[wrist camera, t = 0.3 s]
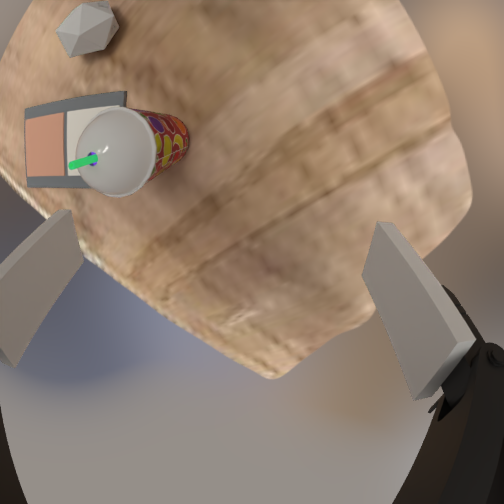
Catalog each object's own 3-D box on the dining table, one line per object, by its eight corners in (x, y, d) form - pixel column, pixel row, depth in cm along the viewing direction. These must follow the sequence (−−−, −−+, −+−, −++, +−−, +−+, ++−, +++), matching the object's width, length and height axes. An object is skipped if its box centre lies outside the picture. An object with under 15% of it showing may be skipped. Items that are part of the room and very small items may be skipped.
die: (127, 54, 30) (120, 3, 21) (70, 78, 28) (51, 31, 19) (115, 27, 30) (110, -19, 21) (64, 48, 28) (50, 5, 19)
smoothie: (137, 168, 37) (38, 215, 19) (141, 108, 33) (35, 113, 15) (195, 173, 37) (119, 227, 19) (201, 110, 33) (122, 103, 15)
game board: (27, 108, 33) (24, 109, 32) (126, 91, 32) (123, 90, 31) (30, 186, 39) (26, 187, 38) (124, 188, 38) (121, 190, 37)
